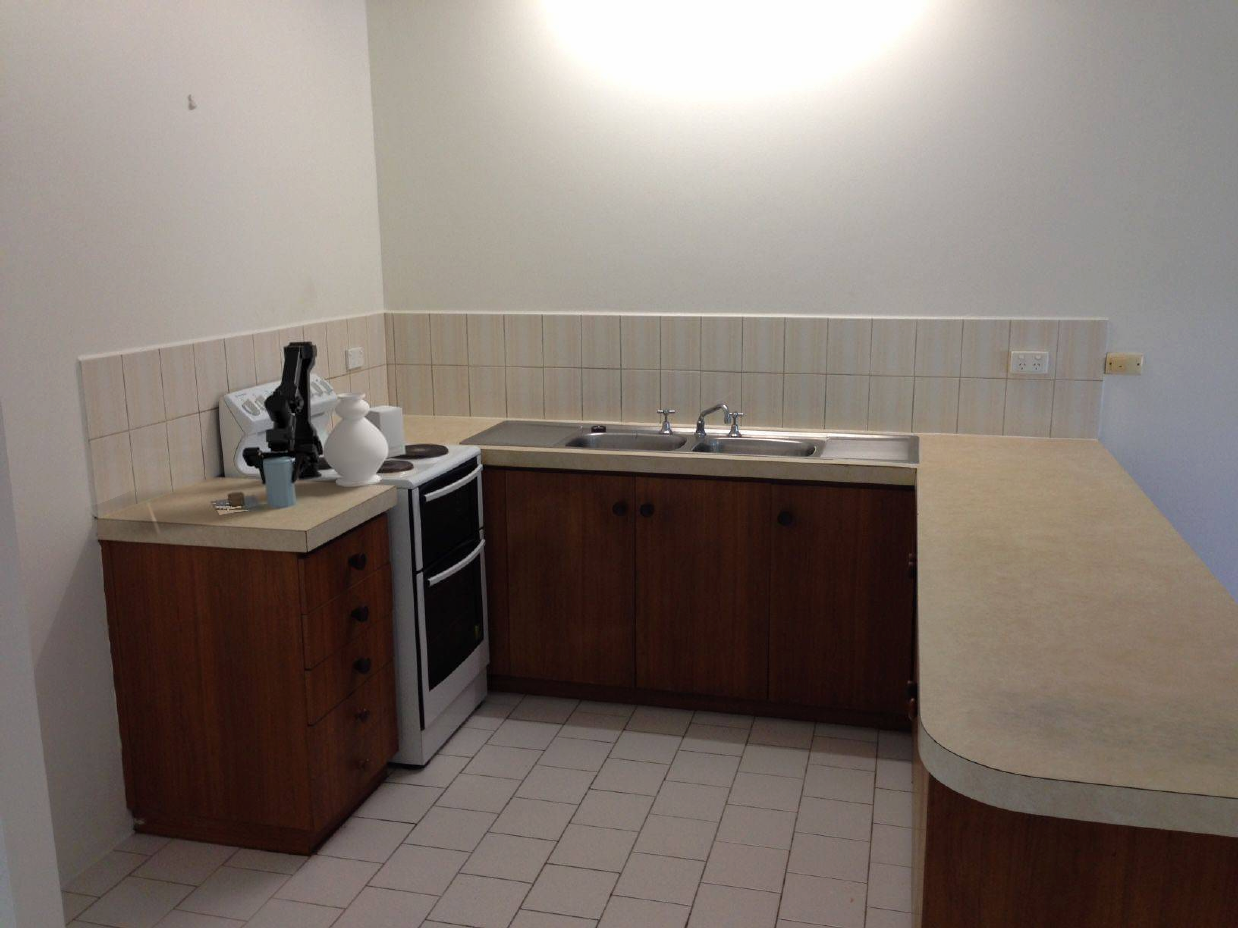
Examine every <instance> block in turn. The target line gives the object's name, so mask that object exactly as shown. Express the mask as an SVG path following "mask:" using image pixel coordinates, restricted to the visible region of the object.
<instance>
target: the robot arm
mask: <svg viewBox="0 0 1238 928" xmlns="http://www.w3.org/2000/svg"><path fill="white" fill-rule="evenodd" d="M317 356H318V347H317V345H316V344H314V343H313V342H312V340H311V341H290V342H289V343H288V345H285V346H283V357H284V361H283V362H284V363H283V368H282V374H281V375H282V376H281V381H280V384H279V385H278V386H277V387H275V389H274V391H273V392H272V394H271V395H269V396H268V397H267V398H266V399H265V400H264V404H263V405H264V407H265V410H266V413H267V414H268V417H269V419H270V421H271V422H273V425H272V428H270V429H269V428H268V429H265V442H266V443H267V448H268V449H270V451H269V450H268V451H262V450H261V449H260V446H248V447H245V448H243V450H242V454H241V455H242V458H243V460H244V462H245V463H246V466H247V467H250V468H253V467H254V469H256V470H257V469H258V471H259V474H260V479H261V482H262V485H265V476H264V467H263V460H265V459H268V458H273V457H290V458H291V459H294V464H293V474H292V482H293V483H294V484H295V483H296V481H297V480H298V479H299V480H302V479H309V478H317V477H322V473H321V472H320V471H319V465H318V464H319V462H320V456H324V453H323V450H324V446H323V444H322V441H321V439H320V437H319V435H318V431H317V429H316V427H315V425H314V424H313V423H312V410H311V408H312V407H311V373H312V370H313V368H314V366H315V365H316V358H317Z"/></svg>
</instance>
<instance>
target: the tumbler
mask: <svg viewBox="0 0 1238 928" xmlns="http://www.w3.org/2000/svg"><path fill="white" fill-rule="evenodd" d="M263 467H264V476H265V484H264V485H265V495H266V502H267V503H266V504H267V507H268V508H271V509H283V508H289V507H293V506H295V505H296V504H297V497H296V496H297V495H296V486H295V483H293V482H292V474H293V469H294V464H293V460H292V458H290V457H273V458H268V459H265V460H263Z"/></svg>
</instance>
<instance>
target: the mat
mask: <svg viewBox="0 0 1238 928" xmlns="http://www.w3.org/2000/svg"><path fill="white" fill-rule="evenodd" d="M244 501H245V505H243V506H241V508H235V509H229V510H249V511H248V512H252V510H254V511H260V510H264V507H263V505H261V503H260V502H259V500H258V499H257V498H256V497H255V495H247V496H246V495H244ZM210 502H211V504H212V503H216V504H212V507H214V506H229V504H226V503H228V498H225V499H219V500H218V499H217V500H211V501H210ZM221 503H222V504H221ZM216 510H227V508H226V509H223V508H221V509H220V508H216V509H215V511H216ZM245 512H246V511H243V512H242V513H245ZM238 513H239V512H237V513H236V514H238Z"/></svg>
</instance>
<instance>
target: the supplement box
mask: <svg viewBox="0 0 1238 928" xmlns="http://www.w3.org/2000/svg"><path fill="white" fill-rule="evenodd" d="M364 417H365V418H366V419H367V420H368V421H369V422H371V423H372V424H373V425H374V426H375V427H376V428H377V429H378V430H379V431H380V432H381V433H382V434H383V436H384V437H385V439H386V441H387V444H388V455H387V457H386V459H389V458H394V457H398V456H403V455H406V443H405V432H404V429H405V428H404V418H403V407H399V406H393V405H392V406H391V405H386V404H385V405H379V406H373V407H370V410H369V412H368V413H367V414H366V415H365V416H364Z"/></svg>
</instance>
